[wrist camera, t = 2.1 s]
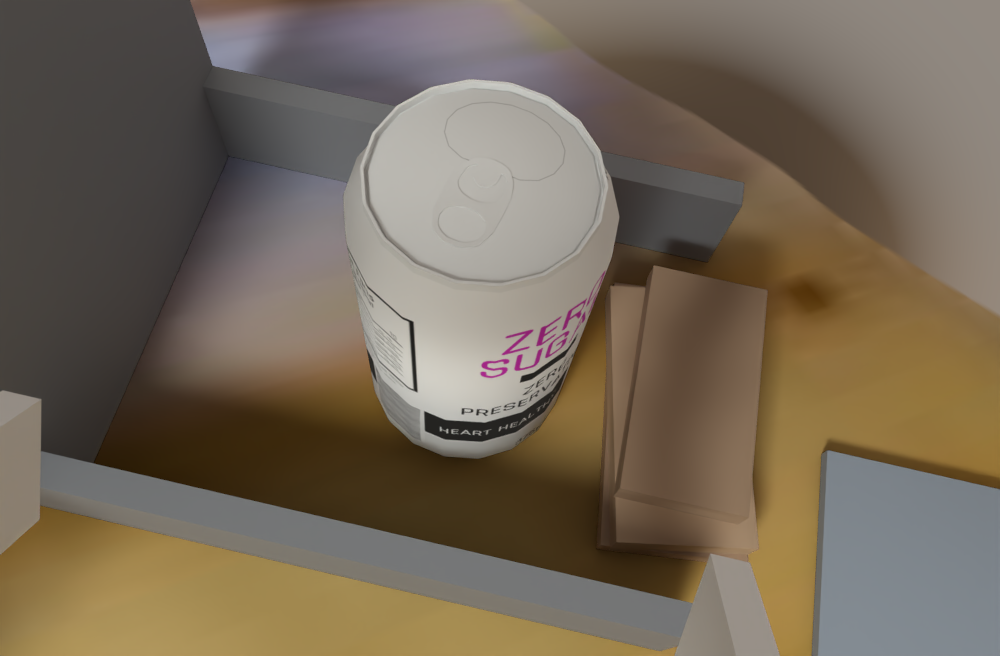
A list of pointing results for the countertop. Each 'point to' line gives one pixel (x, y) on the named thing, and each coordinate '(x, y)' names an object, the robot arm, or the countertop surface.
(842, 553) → the slate mat
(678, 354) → the walnut offcut stack
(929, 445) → the countertop surface
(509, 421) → the supplement can
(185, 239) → the grey three-walled tray
